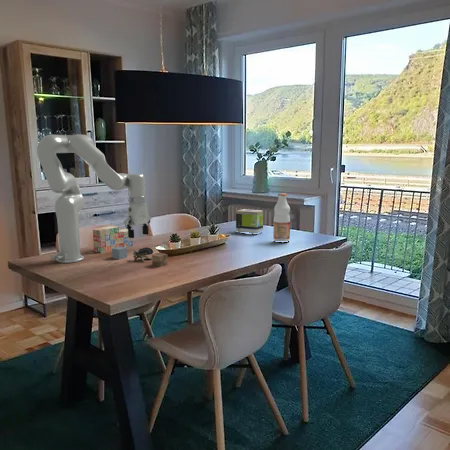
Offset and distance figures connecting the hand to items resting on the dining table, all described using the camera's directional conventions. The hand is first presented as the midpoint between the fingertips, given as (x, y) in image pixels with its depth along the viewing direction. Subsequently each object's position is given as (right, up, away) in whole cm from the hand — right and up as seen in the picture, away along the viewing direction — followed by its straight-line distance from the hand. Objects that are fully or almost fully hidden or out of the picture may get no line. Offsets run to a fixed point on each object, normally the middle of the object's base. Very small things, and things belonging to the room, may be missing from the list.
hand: (138, 236), depth 211 cm
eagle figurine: (+1, -12, +4) cm, 13 cm away
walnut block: (+11, -13, -5) cm, 18 cm away
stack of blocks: (-19, -8, +29) cm, 35 cm away
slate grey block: (-11, -11, +9) cm, 18 cm away
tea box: (+57, 0, +73) cm, 92 cm away
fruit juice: (+74, -5, +46) cm, 87 cm away
